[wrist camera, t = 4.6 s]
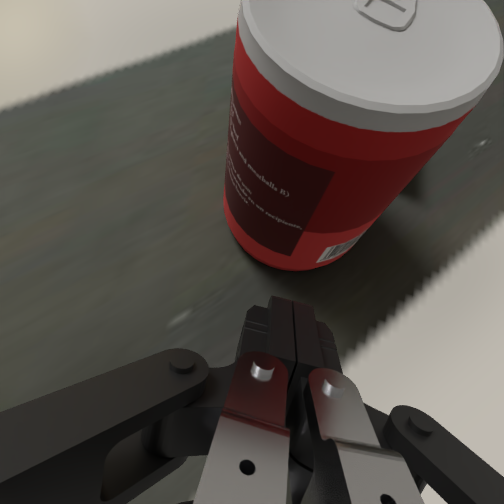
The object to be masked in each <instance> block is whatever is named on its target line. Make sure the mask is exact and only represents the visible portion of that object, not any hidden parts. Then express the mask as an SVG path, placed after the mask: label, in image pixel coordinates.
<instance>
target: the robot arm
mask: <svg viewBox="0 0 504 504" xmlns="http://www.w3.org/2000/svg"><path fill="white" fill-rule="evenodd" d="M334 342H335V341H334V337H333V333H332V332H331V330H330V329H329V328H328V327H327V325H326V324H325V323H323V322H319V321H316V320H315V314H314V309H313V306H311V305H307V304H303V303H299V302H295V301H291V300H287V299H283V298H279V297H275V296H271V298H270V300H269V304H268V307H267V308H264V307H260V306H256V305H254V306H253V307H252V308H250V309H249V310H248V311H247V314H246V318H245V321H244V325H243V329H242V332H241V336H240V340H239V343H238V347H237V353H236V358H235V362H234V363H233V364H231V365H229V366H226V367H221V368H209V367H208V364H207V362H206V360H205V359H204V358H203V357H202V356H200V355H199V354H197V353H195V352H193V351H190V350H187V349H179V348H176V349H168V350H165V351H162V352H160V353H157V354H154V355H152V356H149V357H146V358H144V359H141V360H138V361H136V362H133V363H130V364H128V365H125V366H122V367H120V368H117V369H114V370H112V371H109V372H106V373H104V374H101V375H98V376H96V377H93V378H90V379H88V380H85V381H82V382H80V383H77V384H74V385H72V386H69V387H66V388H64V389H61V390H58V391H56V392H53V393H50V394H48V395H45V396H42V397H40V398H37V399H34V400H32V401H29V402H26V403H24V404H21V405H18V406H16V407H13V408H10V409H8V410H5V411H2V412H0V504H127V503H128V502H129V501H131V500H132V499H134V498H135V497H137V496H138V495H140V494H141V493H142V492H144V491H145V490H147V489H148V488H150V487H151V486H153V485H154V484H155V483H157V482H158V481H160V480H161V479H163V478H164V477H166V476H167V475H168V474H170V473H171V472H173V471H174V470H176V469H177V468H179V467H180V466H181V465H182V464H183V463H184V462H185V461H186V459H187V457H188V456H199V455H208V457H207V460H206V463H205V467H204V470H203V473H202V476H201V480H200V483H199V486H198V489H197V493H196V496H195V499H194V500H192V501H187V502H181V503H178V504H424V502H423V500H422V498H421V493H422V491H423V489H424V487H425V486H426V484H428V485H429V486H430V487H431V488H433V489H434V490H435V491H436V492H437V493H438V494H439V495H440V496H441V497H442V498H443V499H444V500H445V501H446V502H447V503H448V504H504V477H503V476H502V475H500V474H499V473H498V472H496V470H494V469H493V468H492V467H491V466H490V465H488V464H487V463H486V462H485V461H483V460H482V459H481V458H480V457H479V456H477V455H476V454H475V453H474V452H473V451H471V450H470V449H469V448H468V447H467V446H465V445H464V444H463V443H462V442H460V441H459V440H458V439H457V438H456V437H455V436H453V435H452V434H451V433H450V432H448V431H447V430H446V429H445V428H444V427H442V426H441V425H440V424H439V423H438V422H436V421H435V420H434V419H433V418H431V417H430V416H429V415H427V414H426V413H424V412H422V411H420V410H418V409H416V408H413V407H410V406H405V405H399V406H396V407H394V408H393V409H392V411H391V413H390V415H387V414H385V413H382V412H381V411H378V410H376V409H374V408H372V407H370V406H368V405H366V404H365V403H363V401H362V398H361V396H360V393H359V391H358V389H357V387H356V386H355V384H354V383H353V382H352V381H351V380H350V379H349V378H348V377H346V376H345V375H343V372H342V369H341V365H340V361H339V357H338V353H337V351H336V350H337V349H336V345H335V344H334Z"/></svg>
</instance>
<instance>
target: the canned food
mask: <svg viewBox="0 0 504 504" xmlns="http://www.w3.org/2000/svg"><path fill="white" fill-rule="evenodd" d="M503 57H504V55H503V38H502V35H501V31H500V28H499V25H498V22H497V21H496V19H495V17H494V15H493V13H492V12H491V10H490V8H489V7H488V5H487V4H486V3H485V2H484V1H483V0H241V3H240V8H239V13H238V18H237V31H236V43H235V50H234V60H233V74H232V88H231V102H230V116H229V130H228V144H227V158H226V171H225V185H224V213H225V216H226V219H227V223H228V225H229V227H230V229H231V231H232V233H233V235H234V236H235V238H236V240H237V242H238V243H239V244H240V245H241V246H242V247H243V249H244V250H245V251H246V252H247V253H249V254H250V255H251V256H252V257H254V258H255V259H256V260H258V261H260V262H262V263H264V264H266V265H268V266H271V267H274V268H277V269H280V270H288V271H304V270H310V269H314V268H317V267H321V266H324V265H328V264H329V263H331V262H333V261H335V260H337V259H339V258H340V257H342V256H343V255H344V254H345V253H346V252H347V251H349V250H350V249H351V248H352V246H353V245H354V244H355V243H356V242H357V241H358V240H359V238H360V237H361V236H362V235H363V234H364V233H365V232H366V231H367V229H368V228H369V227H370V226H371V225H372V224H373V223H374V222H375V220H376V219H377V218H378V217H379V216H380V215H381V214H382V213H383V211H384V210H385V209H386V208H387V207H388V206H389V205H390V203H391V202H392V201H393V200H394V199H395V198H396V197H397V196H398V194H399V193H400V192H401V191H402V190H403V189H404V188H405V187H406V185H407V184H408V183H409V182H410V181H411V180H412V179H413V177H414V176H415V175H416V174H417V173H418V172H419V171H420V170H421V168H422V167H423V166H424V165H425V164H426V163H427V162H428V161H429V159H430V158H431V157H432V156H433V155H434V154H435V153H436V151H437V150H438V149H439V148H440V147H441V146H442V145H443V144H444V142H445V141H446V140H447V139H448V138H449V137H450V136H451V135H452V133H453V132H454V131H455V129H456V128H457V127H458V125H459V124H460V123H461V122H462V121H463V120H464V119H465V117H466V116H467V115H468V114H469V113H470V112H471V111H472V109H473V108H474V107H475V106H476V105H477V103H478V102H479V100H480V99H481V98H482V96H483V95H484V93H485V92H486V90H487V88H488V87H489V86H490V85H491V83H492V82H493V80H494V79H495V78H496V76H497V75H498V73H499V70H500V67H501V64H502V61H503Z"/></svg>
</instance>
